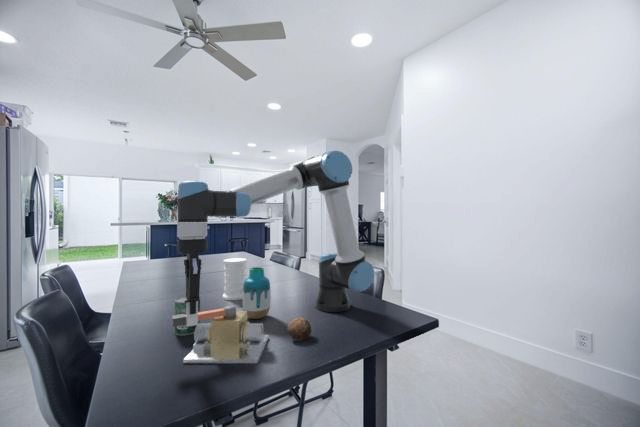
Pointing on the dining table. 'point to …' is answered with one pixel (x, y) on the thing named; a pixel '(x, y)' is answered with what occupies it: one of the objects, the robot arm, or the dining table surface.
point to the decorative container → (234, 278)
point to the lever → (206, 315)
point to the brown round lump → (299, 329)
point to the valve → (228, 341)
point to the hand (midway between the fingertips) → (192, 324)
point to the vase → (256, 294)
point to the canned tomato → (181, 309)
